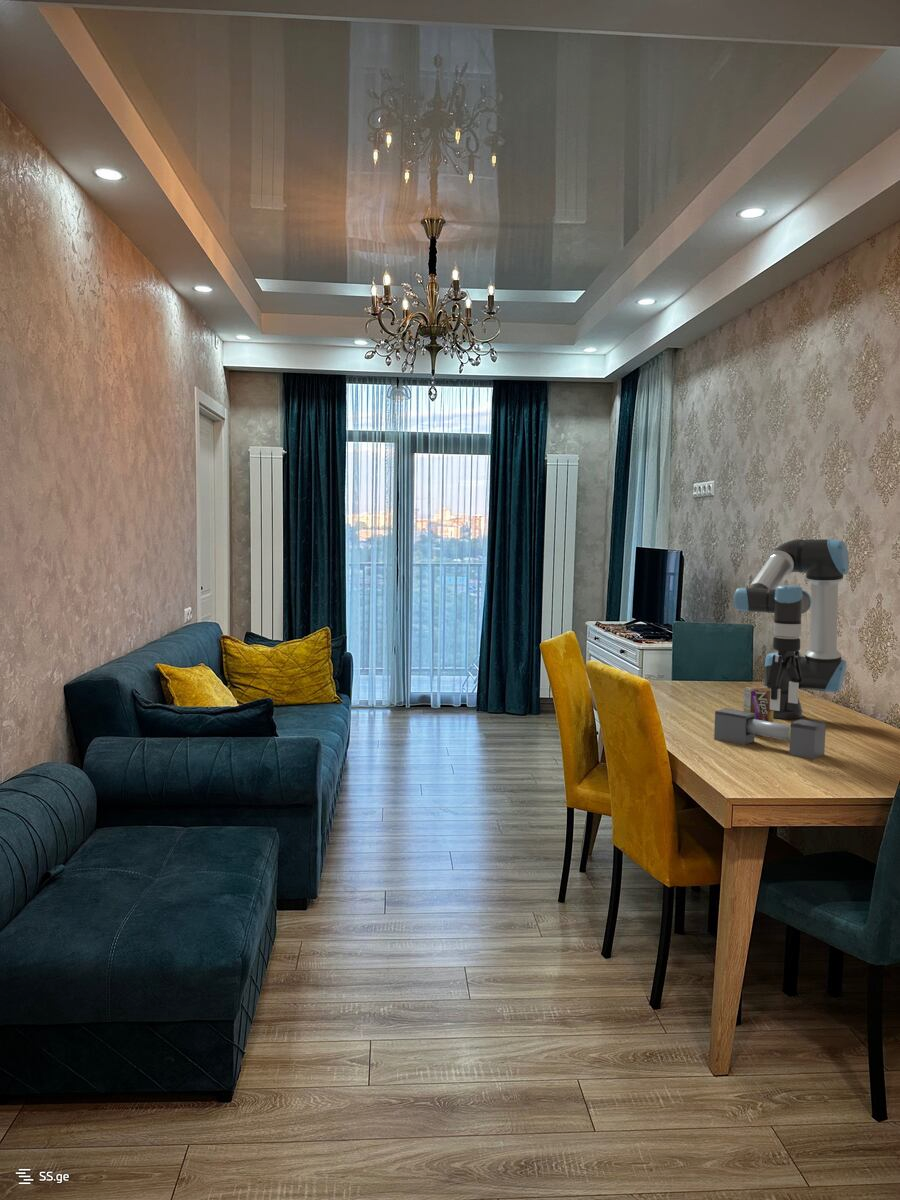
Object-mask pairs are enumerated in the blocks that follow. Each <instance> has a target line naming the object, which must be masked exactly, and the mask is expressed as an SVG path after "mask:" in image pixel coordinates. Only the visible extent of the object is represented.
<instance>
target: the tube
mask: <svg viewBox="0 0 900 1200" xmlns="http://www.w3.org/2000/svg"><path fill="white" fill-rule="evenodd" d="M790 729H791V724H785V723H779V722H774V721H773V722H768V721H763V720H757V719H751V718H747V723H746V733H751V734H756V735H755V736H762V737H769V738H774V739H779V740H783V741H784V740H785V741H789V742H790Z"/></svg>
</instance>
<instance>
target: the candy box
mask: <svg viewBox="0 0 900 1200" xmlns="http://www.w3.org/2000/svg"><path fill="white" fill-rule="evenodd" d="M743 711H745V712H751V713H756V715H755V719H757V720H763V721H768V722H774V718H773V713H774V710H770V688H767V687H764V686H749V687H747V686H746V687H744V688H743ZM755 736H757V735H756V734H755Z"/></svg>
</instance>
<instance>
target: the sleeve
mask: <svg viewBox="0 0 900 1200" xmlns="http://www.w3.org/2000/svg"><path fill="white" fill-rule="evenodd" d="M755 715H756V713H751V712H745V711H744V710H739V709H733V708H727V707H725V708H722V709H718V710H715V711H714V733H713V740H717V741H722V742H728V743H732V744H737V745H741V746H745V745H748V744H752V743H755V736H756V735H755V734H751V733H746V723H747V718H751V719H755Z"/></svg>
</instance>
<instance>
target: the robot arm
mask: <svg viewBox="0 0 900 1200" xmlns="http://www.w3.org/2000/svg"><path fill="white" fill-rule="evenodd" d="M764 559H765V560H764V565H763V567H761V569H760V570H759V572H757V575H756V576H755V577H754V579H753V580H752V582H751V583H750V584H749V585H748V587H746V586H745V587H738V588H736V590H735V592H734V595H733V604H734V605H733V606H734V607H735V608H734V609H735V610H737V611H739V612H746V613H768V614H774V617H773V625H772V628H773V635H774V637H772V641H773V642H772V648H773V649H774V650H775V651H777V652H770V653H768V654H767V655H766V657H765V661H764V662H765V663H764V666H763V667H764V678H763V679H764V681H763V687H767V688H770V710H774V713H773V719H782V720H783V719H784V720H787V719H788V720H795V719H797V720H798V719H802V718H803V708H802V704H801V701H800V697H799V689H802V690H810V691H818V692H824V693H826V692H827V693H838V692H839V691H840V690H841V689H842V686H843V683H844V681H845V677H846V676H845V675H846V673H847V672H846V671H847V661H846V660H844V659H842V654H841V652H839V650H838V649H837V644H838V605H839V604H838V603H839V602H838V601H839V599H838V598H839V583H841V581H842V580H843V579H844V575H847V574H848V573H849V569H850V567H849V565H850V557H849V552H848V547H847V545H846V543H845V542H844V541H842V540H838V539H830V538H829V539H827V538H824V539H818V538H817V539H816V538H815V539H802V538H801V539H799V538H798V539H792V540H788V541H786V542H783V543H781V544H780V545H777V546H776V547H775V548H773V549H772V550H770V552H768V554H767V556H766V557H765V558H764ZM791 573H801V574H802V573H803V574H806V575H805V579H806V580H807V581H808V582H809V583H810V594H809V593H808V592H807V591H806V590H804V589H803V587H802V586H799V585H788V584H786V585H780V584H781V582H782V581H783V580H784V578H785V577H786V576H788V575H789V574H791ZM809 609H810V615H809V616H810V620H809V622H810V623H809V628H810V629H809V649H808V650H807V651H806V652H805V653H804V656H801V654H802V653H800V650H801V638H800V637H801V636H802V614H804V613H806V612H807V611H808V610H809Z"/></svg>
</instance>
